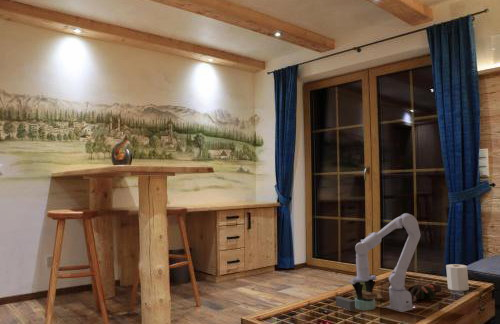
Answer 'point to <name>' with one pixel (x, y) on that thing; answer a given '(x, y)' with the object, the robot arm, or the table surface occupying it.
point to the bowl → (364, 304)
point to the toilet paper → (457, 277)
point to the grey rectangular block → (345, 303)
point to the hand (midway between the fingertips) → (364, 297)
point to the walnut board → (366, 294)
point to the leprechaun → (424, 291)
